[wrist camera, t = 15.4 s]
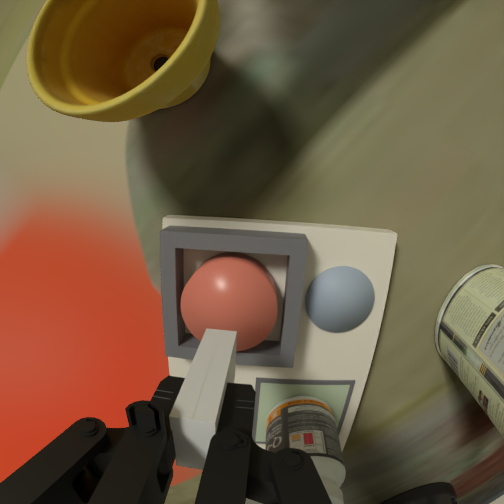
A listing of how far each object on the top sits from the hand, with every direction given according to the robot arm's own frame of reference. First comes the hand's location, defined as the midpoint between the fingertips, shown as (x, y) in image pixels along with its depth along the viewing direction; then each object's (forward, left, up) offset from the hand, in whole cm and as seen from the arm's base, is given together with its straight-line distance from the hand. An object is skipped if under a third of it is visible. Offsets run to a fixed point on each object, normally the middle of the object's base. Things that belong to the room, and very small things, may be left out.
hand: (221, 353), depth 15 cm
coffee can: (-1, -22, -9) cm, 24 cm away
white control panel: (-5, -3, -8) cm, 10 cm away
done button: (+1, 0, -7) cm, 7 cm away
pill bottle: (-11, -6, -7) cm, 14 cm away
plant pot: (+17, +6, -9) cm, 20 cm away
